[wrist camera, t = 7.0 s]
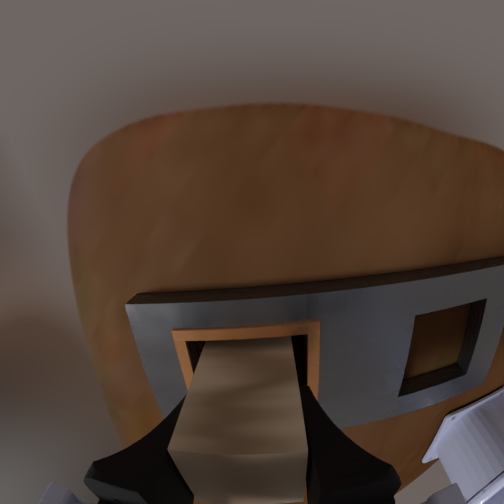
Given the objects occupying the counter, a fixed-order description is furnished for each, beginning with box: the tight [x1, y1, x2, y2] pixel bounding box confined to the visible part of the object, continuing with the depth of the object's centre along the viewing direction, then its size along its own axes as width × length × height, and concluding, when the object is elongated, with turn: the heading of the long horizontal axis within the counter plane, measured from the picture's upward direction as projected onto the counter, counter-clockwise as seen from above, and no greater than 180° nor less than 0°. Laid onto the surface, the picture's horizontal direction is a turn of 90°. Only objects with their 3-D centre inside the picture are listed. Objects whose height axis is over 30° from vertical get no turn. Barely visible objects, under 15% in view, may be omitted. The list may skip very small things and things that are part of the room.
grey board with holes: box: [125, 257, 504, 429], centre depth 14 cm, size 24×10×2 cm, turn 96°
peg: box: [167, 336, 308, 504], centre depth 11 cm, size 4×4×8 cm
